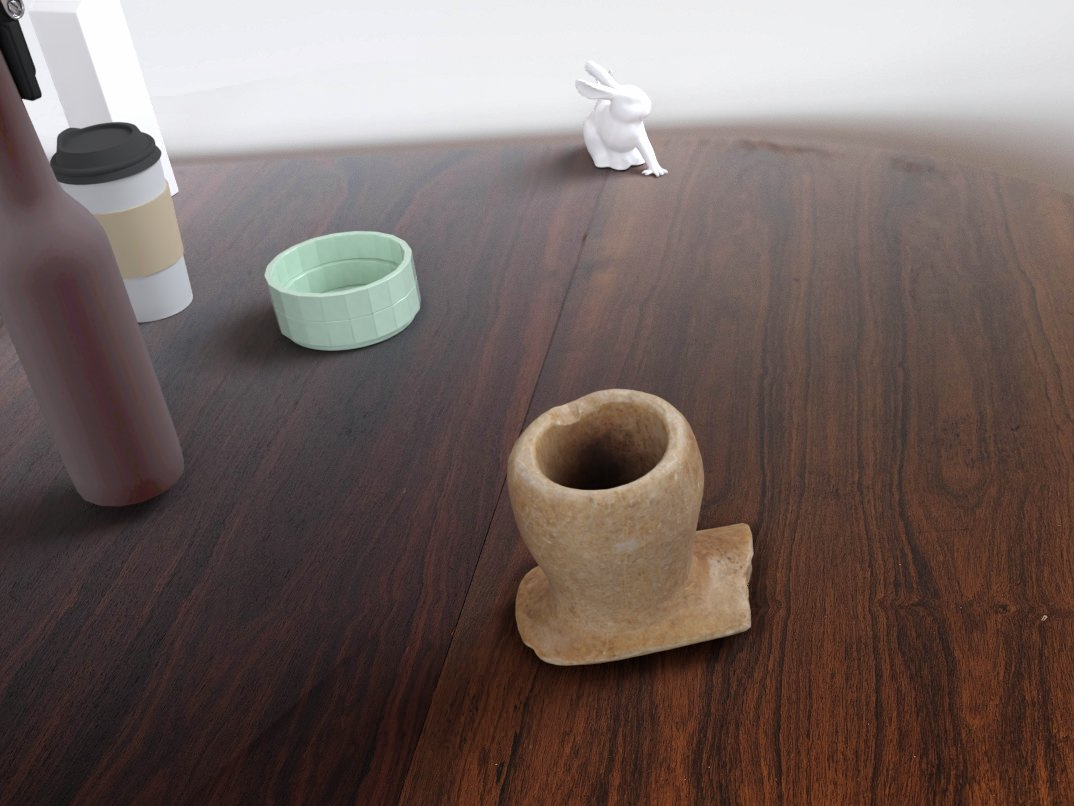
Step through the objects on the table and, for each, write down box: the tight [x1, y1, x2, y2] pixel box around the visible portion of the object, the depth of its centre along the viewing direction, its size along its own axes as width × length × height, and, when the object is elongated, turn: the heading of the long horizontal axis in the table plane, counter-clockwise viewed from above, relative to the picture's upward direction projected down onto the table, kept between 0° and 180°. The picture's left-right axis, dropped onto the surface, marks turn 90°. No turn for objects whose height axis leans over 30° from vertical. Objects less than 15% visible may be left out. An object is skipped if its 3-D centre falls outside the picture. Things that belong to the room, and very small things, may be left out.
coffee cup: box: [49, 122, 194, 323], centre depth 111 cm, size 9×9×15 cm
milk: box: [27, 0, 180, 198], centre depth 127 cm, size 6×6×22 cm
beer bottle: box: [0, 49, 185, 508], centre depth 79 cm, size 8×8×30 cm
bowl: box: [263, 230, 422, 352], centre depth 109 cm, size 12×12×5 cm
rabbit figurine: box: [574, 60, 669, 177], centre depth 128 cm, size 12×8×10 cm, turn 20°
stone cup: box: [506, 388, 754, 666], centre depth 73 cm, size 15×12×15 cm
